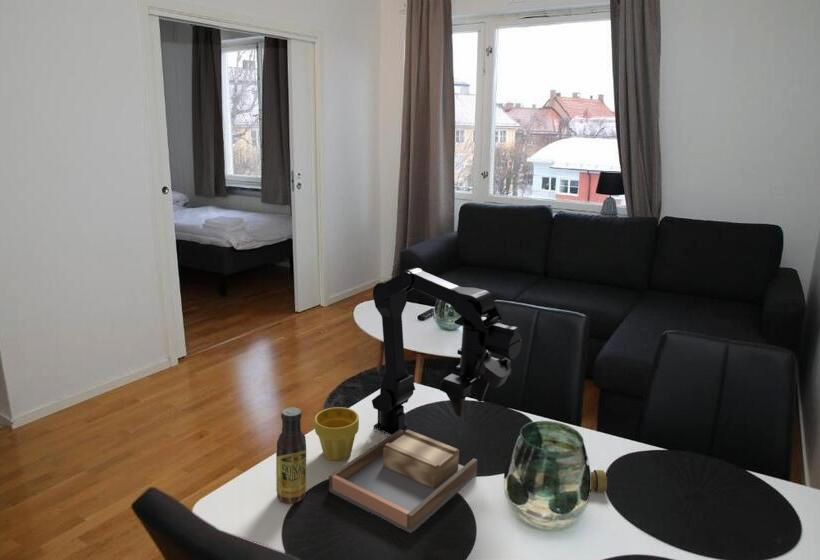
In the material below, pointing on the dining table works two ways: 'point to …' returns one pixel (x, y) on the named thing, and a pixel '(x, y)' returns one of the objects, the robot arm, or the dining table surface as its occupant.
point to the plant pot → (336, 431)
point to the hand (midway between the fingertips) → (469, 408)
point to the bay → (395, 488)
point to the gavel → (598, 481)
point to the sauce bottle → (291, 458)
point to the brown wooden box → (421, 458)
